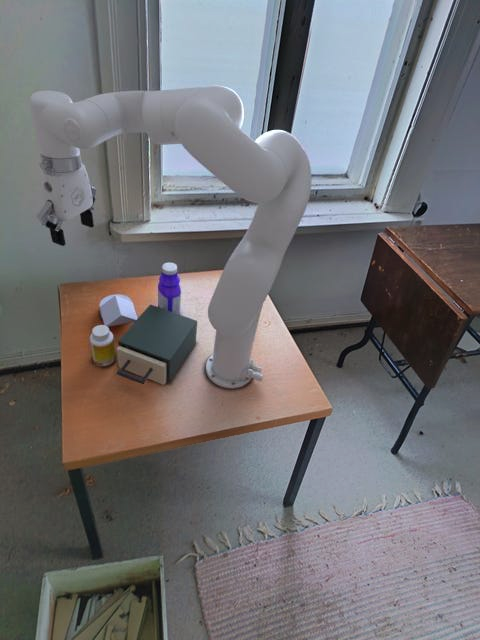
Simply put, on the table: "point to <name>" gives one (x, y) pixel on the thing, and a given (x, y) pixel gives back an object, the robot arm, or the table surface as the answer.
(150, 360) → the drawer
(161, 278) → the bottle
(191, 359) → the table surface
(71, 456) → the table surface
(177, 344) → the cabinet
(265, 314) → the table surface
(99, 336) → the supplement bottle
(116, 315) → the wedge on round base
